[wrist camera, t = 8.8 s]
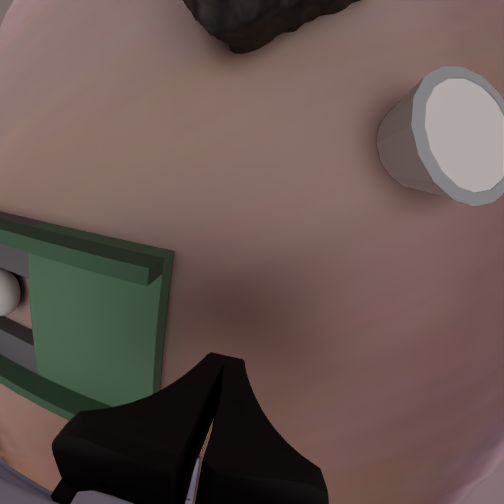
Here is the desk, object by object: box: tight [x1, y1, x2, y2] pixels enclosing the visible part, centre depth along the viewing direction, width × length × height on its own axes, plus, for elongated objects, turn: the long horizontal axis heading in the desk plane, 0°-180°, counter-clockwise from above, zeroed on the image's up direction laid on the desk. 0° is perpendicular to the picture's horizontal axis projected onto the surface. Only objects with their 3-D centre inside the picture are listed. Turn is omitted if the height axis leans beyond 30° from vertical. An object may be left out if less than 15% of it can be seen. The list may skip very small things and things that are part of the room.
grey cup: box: [376, 66, 504, 206], centre depth 15 cm, size 7×7×7 cm
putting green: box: [0, 212, 174, 420], centre depth 17 cm, size 16×20×10 cm
